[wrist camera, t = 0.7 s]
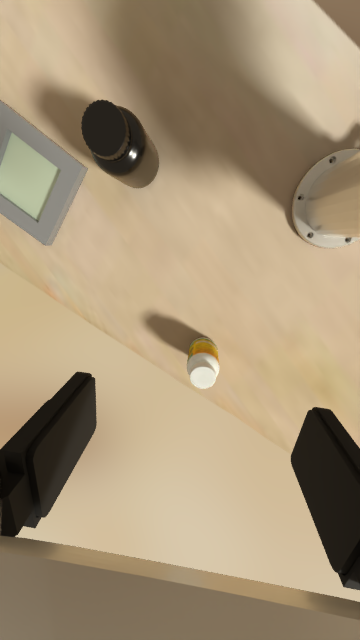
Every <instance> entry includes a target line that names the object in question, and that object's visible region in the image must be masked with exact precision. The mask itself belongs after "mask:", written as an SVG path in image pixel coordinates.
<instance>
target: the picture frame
mask: <svg viewBox="0 0 360 640" xmlns="http://www.w3.org/2000/svg"><path fill="white" fill-rule="evenodd" d="M87 170H88V168H86V167H85V166H84V165H83V164H81V163H80V162H79V161H78V160H76V159H75V158H74V157H73V156H71V155H70V154H69V153H67V152H66V151H65V150H64V149H62V148H61V147H60V146H59V145H57V144H56V143H55V142H54V141H52V140H51V139H50V138H49V137H47V136H46V135H45V134H43V133H42V132H41V131H40V130H38V129H37V128H36V127H35V126H33V125H32V124H31V123H30V122H28V121H27V120H26V119H25V118H23V117H22V116H21V115H19V114H18V113H17V112H16V111H14V110H13V109H12V108H11V107H9V106H8V105H7V104H5V103H4V102H2V101H1V100H0V213H1V214H2V215H4V216H5V217H6V218H8V219H9V220H11V221H12V222H13V223H15V224H16V225H17V226H19V227H20V228H22V229H23V230H24V231H26V232H27V233H29V234H30V235H31V236H33V237H34V238H36V239H37V240H38V241H40V242H41V243H42V244H44V245H45V246H48V245H52V243H53V241H54V239H55V237H56V235H57V233H58V231H59V228H60V226H61V224H62V222H63V220H64V218H65V216H66V214H67V212H68V210H69V208H70V205H71V203H72V201H73V199H74V197H75V195H76V193H77V191H78V189H79V187H80V184H81V182H82V180H83V178H84V176H85V174H86V172H87Z"/></svg>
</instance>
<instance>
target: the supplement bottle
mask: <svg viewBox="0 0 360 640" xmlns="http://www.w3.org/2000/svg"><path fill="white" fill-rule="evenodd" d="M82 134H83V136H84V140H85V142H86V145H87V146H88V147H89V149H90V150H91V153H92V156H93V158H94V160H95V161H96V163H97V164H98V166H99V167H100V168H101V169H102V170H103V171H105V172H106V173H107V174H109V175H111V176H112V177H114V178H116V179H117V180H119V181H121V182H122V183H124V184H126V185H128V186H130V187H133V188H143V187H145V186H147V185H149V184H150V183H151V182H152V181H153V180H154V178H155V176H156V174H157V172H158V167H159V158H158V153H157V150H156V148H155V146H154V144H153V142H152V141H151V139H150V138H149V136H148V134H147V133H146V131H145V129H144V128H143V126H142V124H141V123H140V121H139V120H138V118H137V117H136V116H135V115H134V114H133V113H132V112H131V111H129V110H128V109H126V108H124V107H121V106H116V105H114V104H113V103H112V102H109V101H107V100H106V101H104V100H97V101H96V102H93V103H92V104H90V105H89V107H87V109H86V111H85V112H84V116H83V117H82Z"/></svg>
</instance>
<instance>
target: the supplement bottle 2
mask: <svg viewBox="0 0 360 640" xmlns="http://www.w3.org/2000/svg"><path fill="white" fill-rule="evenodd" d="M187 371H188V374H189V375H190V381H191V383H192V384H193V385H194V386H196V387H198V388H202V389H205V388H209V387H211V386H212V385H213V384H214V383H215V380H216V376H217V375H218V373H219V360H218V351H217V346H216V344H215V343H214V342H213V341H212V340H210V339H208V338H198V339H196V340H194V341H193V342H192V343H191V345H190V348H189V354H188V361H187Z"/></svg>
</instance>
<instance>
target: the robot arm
mask: <svg viewBox="0 0 360 640" xmlns="http://www.w3.org/2000/svg"><path fill="white" fill-rule="evenodd" d="M329 160H331V163H330V162H329ZM298 197H300V200H298ZM292 220H293V224H294V226H295V229H296V231H297V232H298V234H299V235H300V236H301V237H302V238H303V239H304V240H305V241H306V242H308V243H309V244H311V245H314V246H317V247H321V248H339V247H344V246H347V245H350V244H352V243H354V242H356V241H358V240H360V149H345V150H341V151H338V152H334V153H332V154H330V155H328V156H327V157H325V158H323V159H322V160H320V161H319V162H317V163H316V164H315V165H314V166H313V167H312V168H310V169H309V171H308V172H307V173H306V174H305V175H304V177H303V178H302V180H301V181H300V183H299V185H298V186H297V189H296V191H295V194H294V197H293V202H292ZM307 234H309V237H307ZM345 239H346V241H345ZM95 429H96V393H95V378H94V377H92V375H91V374H90V373H84V372H76V373H75V374H74V375H73V376H72V377H71V379H70V380H69V381H68V382H67V383H66V384H65V385H64V386H63V387H62V388H61V389H60V390H59V391H58V392H57V393H56V394H55V395H54V396H53V397H52V398H51V399H50V400H48V401H47V402H46V403H45V404H44V405H43V406H42V407H41V408H40V409H39V410H38V411H37V412H36V413H35V414H34V415H33V416H32V417H31V418H30V419H29V420H28V421H27V422H26V423H25V424H24V426H22V428H21V429H20V430H19V431H18V432H17V433H16V434H15V435H14V436H13V437H12V438H11V439H10V440H9V441H8V442H7V443H6V444H5V445H4V446H3V447H2V448H1V449H0V640H360V602H357V601H352V600H348V599H343V598H339V597H334V596H328V595H324V594H319V593H314V592H309V591H304V590H299V589H294V588H289V587H284V586H279V585H273V584H269V583H264V582H258V581H254V580H248V579H243V578H238V577H233V576H228V575H223V574H218V573H213V572H207V571H202V570H197V569H192V568H187V567H181V566H176V565H171V564H166V563H160V562H155V561H150V560H145V559H139V558H134V557H129V556H123V555H118V554H113V553H107V552H102V551H97V550H91V549H85V548H81V547H75V546H69V545H63V544H56V543H51V542H45V541H39V540H33V539H26V538H18V537H15V536H16V535H18V533H19V532H20V530H21V528H22V527H23V526H26V527H31V528H36V526H37V524H38V522H39V521H40V519H41V517H46V516H47V515H48V513H49V512H50V510H51V508H52V506H53V504H54V503H55V501H56V499H57V497H58V496H59V494H60V492H61V490H62V489H63V487H64V485H65V483H66V481H67V480H68V478H69V476H70V474H71V473H72V471H73V469H74V467H75V465H76V464H77V462H78V460H79V458H80V456H81V454H82V453H83V451H84V449H85V448H86V446H87V444H88V442H89V441H90V439H91V437H92V435H93V433H94V431H95ZM291 464H292V467H293V469H294V472H295V475H296V477H297V480H298V482H299V485H300V487H301V490H302V493H303V495H304V498H305V500H306V503H307V505H308V508H309V510H310V513H311V516H312V518H313V521H314V523H315V526H316V528H317V531H318V534H319V536H320V539H321V541H322V544H323V546H324V549H325V551H326V554H327V557H328V559H329V562H330V564H331V566H332V568H333V570H334V571H335V572H337V573H338V574H339V577H340V579H341V582H342V584H343V587H346V588H351V589H357V590H360V448H359V447H358V446H357V444H356V443H355V442H354V440H353V439H352V438H351V436H350V435H349V434H348V432H347V431H346V430H345V428H344V427H343V426H342V424H341V423H340V422H339V420H338V419H337V417H336V416H335V415H334V413H333V412H332V411H331V410H329V409H324V408H318V407H314V408H313V409H312V410H309V411H308V412H307V415H306V418H305V420H304V423H303V426H302V428H301V431H300V433H299V436H298V439H297V441H296V444H295V447H294V449H293V452H292V454H291Z"/></svg>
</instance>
